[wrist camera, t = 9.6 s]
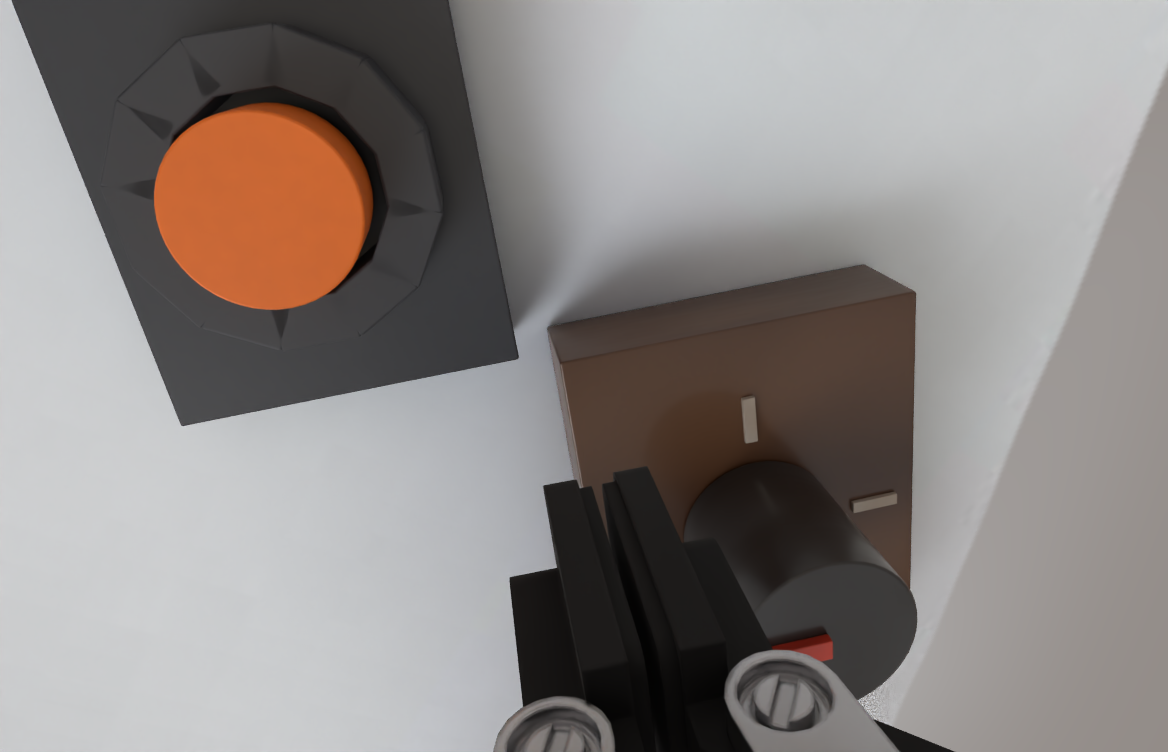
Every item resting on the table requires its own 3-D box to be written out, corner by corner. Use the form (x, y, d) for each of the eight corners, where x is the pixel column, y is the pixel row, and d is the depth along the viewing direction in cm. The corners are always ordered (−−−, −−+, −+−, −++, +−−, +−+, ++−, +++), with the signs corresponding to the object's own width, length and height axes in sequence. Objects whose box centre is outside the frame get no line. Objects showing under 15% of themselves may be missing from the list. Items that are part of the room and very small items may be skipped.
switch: (392, 266, 19) (386, 290, 17) (219, 298, 18) (193, 327, 17) (346, 87, 17) (334, 93, 15) (156, 119, 17) (120, 128, 15)
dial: (829, 446, 23) (928, 551, 18) (830, 574, 25) (921, 700, 20) (676, 477, 23) (737, 593, 18) (689, 604, 25) (747, 740, 20)
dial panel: (867, 597, 30) (912, 657, 27) (606, 659, 29) (623, 727, 26) (865, 263, 25) (920, 292, 22) (546, 326, 24) (559, 365, 21)
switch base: (513, 332, 24) (525, 385, 20) (204, 393, 23) (158, 459, 19) (429, -90, 19) (425, -121, 16) (42, -33, 18) (-57, -51, 15)
